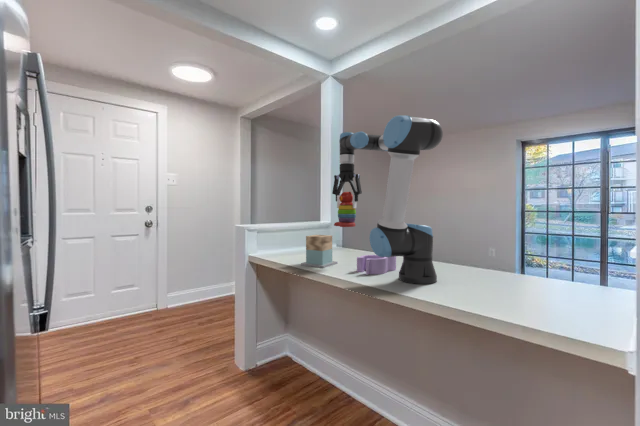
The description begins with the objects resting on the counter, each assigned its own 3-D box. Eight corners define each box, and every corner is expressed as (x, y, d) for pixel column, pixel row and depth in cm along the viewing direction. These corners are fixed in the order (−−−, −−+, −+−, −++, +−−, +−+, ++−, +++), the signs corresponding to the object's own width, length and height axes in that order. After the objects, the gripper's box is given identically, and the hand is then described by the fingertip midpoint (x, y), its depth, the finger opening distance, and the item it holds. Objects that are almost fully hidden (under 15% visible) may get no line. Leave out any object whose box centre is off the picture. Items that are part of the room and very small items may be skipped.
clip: (383, 266, 161) (383, 253, 161) (402, 270, 151) (402, 256, 150) (353, 271, 150) (353, 256, 150) (371, 276, 140) (371, 260, 140)
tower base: (337, 263, 169) (337, 248, 168) (323, 267, 157) (323, 251, 156) (315, 261, 176) (315, 246, 176) (300, 265, 164) (300, 249, 164)
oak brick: (332, 248, 168) (332, 235, 167) (322, 251, 159) (322, 237, 159) (316, 247, 173) (316, 234, 173) (306, 249, 164) (306, 236, 164)
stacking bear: (332, 225, 165) (332, 191, 165) (349, 225, 170) (349, 192, 169) (342, 227, 156) (342, 191, 155) (360, 226, 160) (360, 191, 159)
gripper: (369, 163, 159) (368, 208, 160) (332, 165, 170) (332, 207, 171) (362, 161, 153) (362, 208, 153) (325, 164, 164) (325, 207, 165)
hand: (346, 208), depth 162 cm, fingers closed on stacking bear, 8 cm apart
